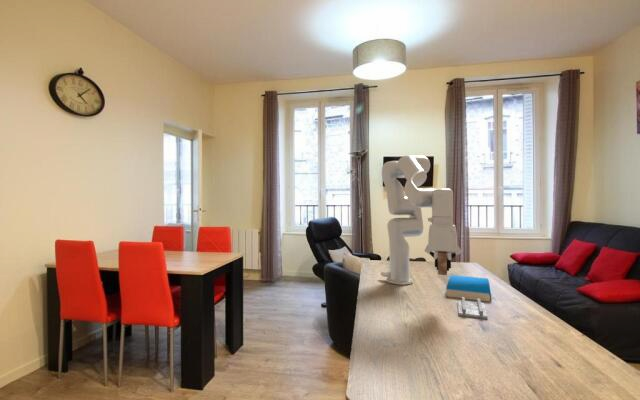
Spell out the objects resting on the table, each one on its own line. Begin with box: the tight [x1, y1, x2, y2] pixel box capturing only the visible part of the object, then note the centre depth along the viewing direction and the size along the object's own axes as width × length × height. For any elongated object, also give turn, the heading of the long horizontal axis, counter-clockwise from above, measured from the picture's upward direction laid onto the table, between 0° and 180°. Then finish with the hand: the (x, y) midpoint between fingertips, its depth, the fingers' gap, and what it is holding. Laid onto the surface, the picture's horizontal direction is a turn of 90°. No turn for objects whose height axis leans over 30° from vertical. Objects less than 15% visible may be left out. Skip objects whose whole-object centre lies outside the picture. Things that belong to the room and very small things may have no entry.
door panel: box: [437, 252, 448, 276], centre depth 121 cm, size 3×8×8 cm, turn 156°
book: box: [445, 274, 492, 302], centre depth 142 cm, size 17×4×25 cm
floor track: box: [457, 297, 488, 320], centre depth 117 cm, size 15×9×2 cm, turn 157°
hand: (442, 269), depth 121 cm, fingers closed on door panel, 3 cm apart
